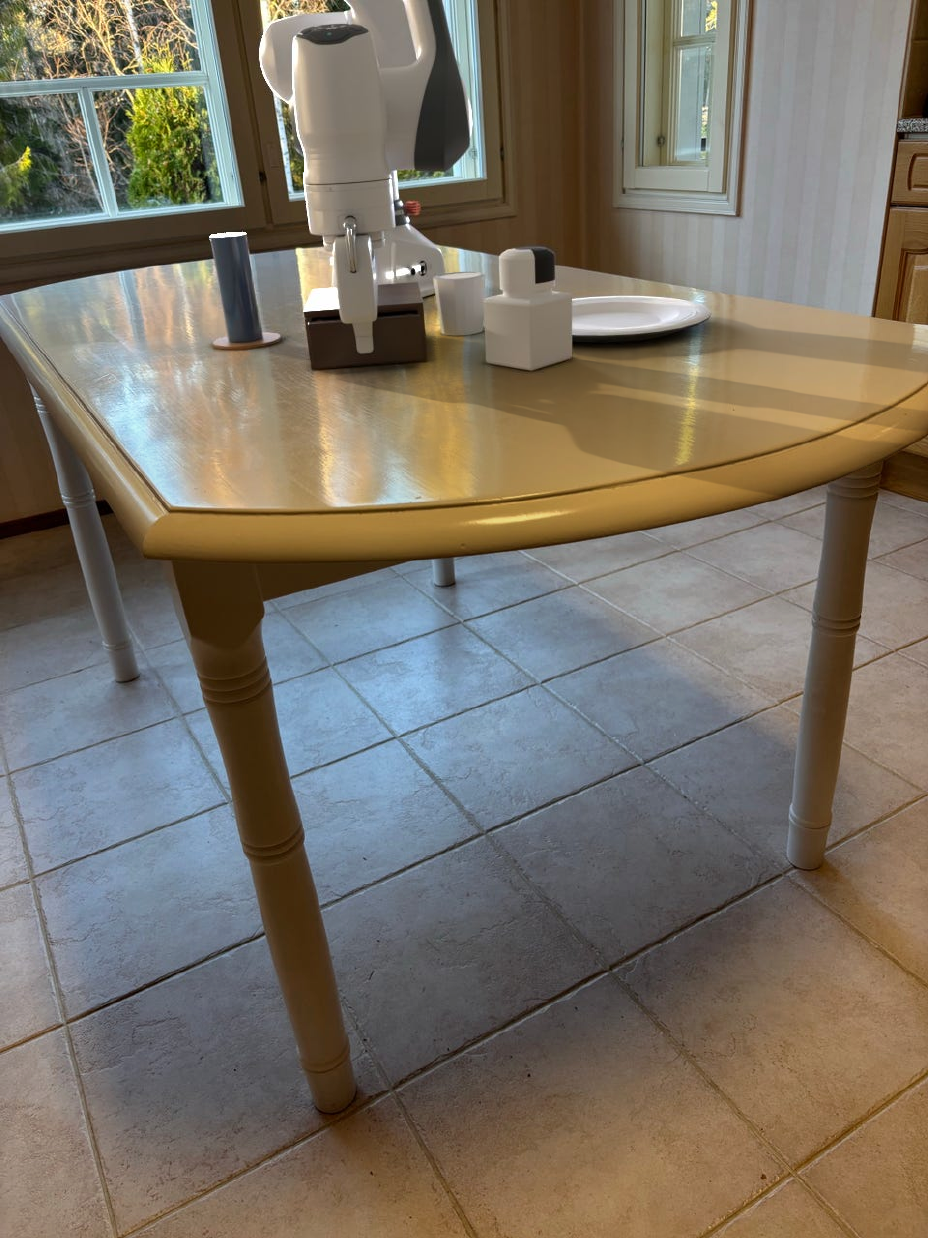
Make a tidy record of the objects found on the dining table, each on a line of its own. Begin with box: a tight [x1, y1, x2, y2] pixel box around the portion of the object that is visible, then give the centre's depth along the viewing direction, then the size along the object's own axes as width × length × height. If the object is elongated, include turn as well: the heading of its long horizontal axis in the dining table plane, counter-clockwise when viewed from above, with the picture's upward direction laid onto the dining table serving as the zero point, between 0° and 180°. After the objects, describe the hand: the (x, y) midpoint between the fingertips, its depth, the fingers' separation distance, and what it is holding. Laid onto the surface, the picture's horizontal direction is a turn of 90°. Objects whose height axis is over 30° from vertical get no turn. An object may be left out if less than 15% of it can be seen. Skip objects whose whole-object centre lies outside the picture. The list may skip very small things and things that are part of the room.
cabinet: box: [302, 282, 428, 371], centre depth 110 cm, size 16×14×7 cm
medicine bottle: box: [483, 246, 573, 372], centre depth 99 cm, size 7×7×12 cm
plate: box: [572, 295, 712, 344], centre depth 115 cm, size 25×25×2 cm
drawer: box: [308, 311, 423, 368], centre depth 106 cm, size 16×12×5 cm
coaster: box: [212, 331, 282, 351], centre depth 120 cm, size 9×9×1 cm
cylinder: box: [209, 232, 263, 343], centre depth 117 cm, size 5×5×13 cm
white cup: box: [433, 271, 486, 336], centre depth 117 cm, size 7×7×7 cm
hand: (365, 350), depth 98 cm, fingers closed
